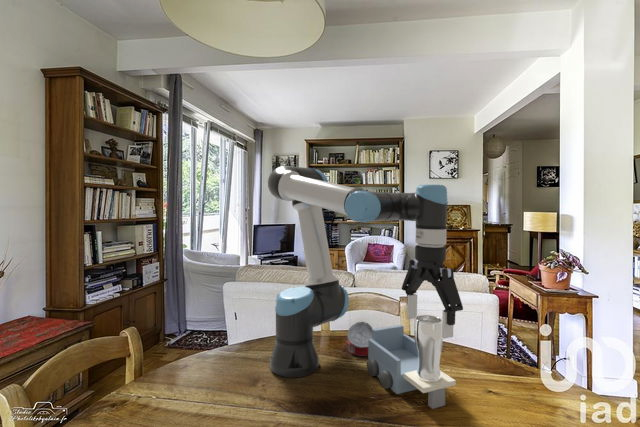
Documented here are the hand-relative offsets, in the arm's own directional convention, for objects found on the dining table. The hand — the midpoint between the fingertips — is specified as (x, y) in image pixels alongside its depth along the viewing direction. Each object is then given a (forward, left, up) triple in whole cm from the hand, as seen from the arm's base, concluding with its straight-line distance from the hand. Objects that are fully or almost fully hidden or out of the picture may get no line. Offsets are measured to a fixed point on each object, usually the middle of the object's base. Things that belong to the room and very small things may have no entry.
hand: (428, 327), depth 85 cm
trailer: (-7, +4, -19) cm, 20 cm away
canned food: (-29, +14, -19) cm, 38 cm away
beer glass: (0, 0, -13) cm, 13 cm away
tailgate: (-3, +2, -14) cm, 14 cm away
